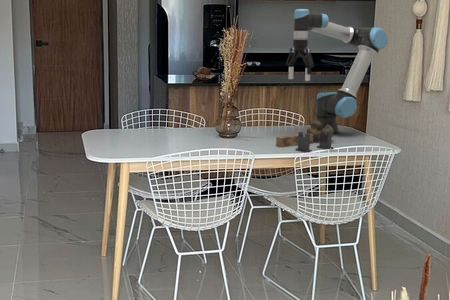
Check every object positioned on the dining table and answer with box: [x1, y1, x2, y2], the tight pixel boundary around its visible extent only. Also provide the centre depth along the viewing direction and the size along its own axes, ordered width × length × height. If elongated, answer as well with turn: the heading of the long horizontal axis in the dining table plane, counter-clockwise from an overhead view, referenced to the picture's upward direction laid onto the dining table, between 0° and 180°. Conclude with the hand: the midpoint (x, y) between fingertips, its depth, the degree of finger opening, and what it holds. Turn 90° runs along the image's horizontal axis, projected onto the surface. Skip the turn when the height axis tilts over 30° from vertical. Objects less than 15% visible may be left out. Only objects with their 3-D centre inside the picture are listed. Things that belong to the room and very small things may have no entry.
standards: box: [294, 130, 334, 153], centre depth 290 cm, size 18×7×9 cm, turn 123°
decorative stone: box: [306, 120, 334, 143], centre depth 315 cm, size 16×11×15 cm
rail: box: [275, 133, 314, 148], centre depth 303 cm, size 22×4×5 cm, turn 125°
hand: (299, 79), depth 316 cm, fingers open, 13 cm apart
